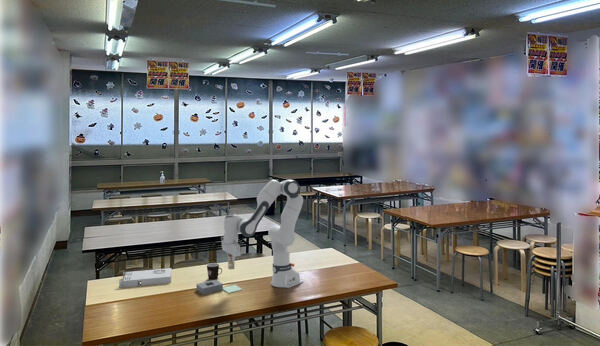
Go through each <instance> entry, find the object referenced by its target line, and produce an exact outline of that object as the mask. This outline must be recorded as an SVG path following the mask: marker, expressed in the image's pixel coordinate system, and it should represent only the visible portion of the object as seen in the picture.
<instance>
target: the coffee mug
mask: <svg viewBox="0 0 600 346" xmlns="http://www.w3.org/2000/svg"><path fill="white" fill-rule="evenodd" d="M206 269H207V278H208V281H212V280H218V278H219V275H221V274H222V273H223V269H222V268H221V267H220V263H219V262H211V263H207V264H206ZM219 270H221V272H219Z"/></svg>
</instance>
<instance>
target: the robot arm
mask: <svg viewBox="0 0 600 346" xmlns="http://www.w3.org/2000/svg"><path fill="white" fill-rule="evenodd" d="M299 184H300V183H298V182H297V181H296V180H294V179H286V180H285V179H284V180H281V181H278V180H277V179H276V180H275V179H272V180H270V181H268V182H267V183H266V185H265V186H264V187H263V188H262V189H261V190H260V192H259V193H258V195H257V197H256V202H257V208H256V209H255V211H254V212H253V214H252V215H251V216H250V218H247V217H246V218H245V217H242V216H239V215H237V214H236V213H230V214H227V215H225V217H224V221H223V222H224V223H223V229H224V233H223V234H224V235H223V236H220V240H221V249H222V251H224V252H226V255H227V257H228V255H229V254H232V261H234V262H235V261H236V257H241V256H242V255H241V254H242V252H241V245H240V244H239V234H241V235H242V236H244V237H245V238H249V237H252V236H254V235H255V233H256V231H257V227H258V226H259V223H260V222H261V221H262V219H263V218H264V216H265V215H266V213H267V212H268V210H269V209H270V207H271V205H272V204H273V203H274V201H275V200H276V199H277V198H278V196H279V195H283V196H286V198H287V199H286V203H285V205H284V207H283V210H282V213H281V215H280V225H272V226H271V227H270V228H269V229H268V234H267V235H268V238H270V244H271V248H272V257H273V258H272V260H273V261H272V262H273V263H272V279H271V282H270V285H271V286H273V287H276V288H287V289H288V288H289V289H290V288H292V287H294V286H297V285H299V284H303V283H304V280H303V278H301V277H300V273H299V272H298V271H297V270H296V269H294V268H293V267H295V263H291V262H290V250H289V248H288V247H290V246H292V245H293V244H294V243H295V241H296V237H295V228H296V223H297V221H298V218H299V216H300V213H301V210H302V207H303V203H304V197H303V196H302V195H301V194H300V185H299Z"/></svg>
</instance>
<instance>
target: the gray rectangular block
mask: <svg viewBox="0 0 600 346" xmlns="http://www.w3.org/2000/svg"><path fill="white" fill-rule="evenodd" d="M195 286H196V291H198V293H200V294H201V295H207V294H211V292H212V293H215V292H219V291H224V290H223V288H224V284H223V283H222V282H221V281H219V280H218V279H216V280H207V281H203V282H200V283H196V285H195Z"/></svg>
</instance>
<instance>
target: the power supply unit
mask: <svg viewBox="0 0 600 346" xmlns="http://www.w3.org/2000/svg"><path fill="white" fill-rule="evenodd" d="M172 275H173V273H172V268H171V267H170V268H157V269H145V270H135V271H123V272H122V279H121V280H119V282H118V283H119V284H118V285H119V286H118V287H119V288H128V287H129V288H130V287H137V286H148V285H150V286H151V285H161V284H170V283H172ZM140 282H141V284H140Z"/></svg>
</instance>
